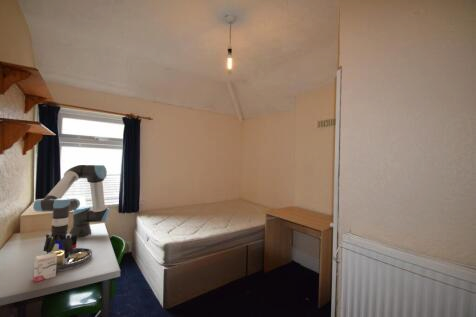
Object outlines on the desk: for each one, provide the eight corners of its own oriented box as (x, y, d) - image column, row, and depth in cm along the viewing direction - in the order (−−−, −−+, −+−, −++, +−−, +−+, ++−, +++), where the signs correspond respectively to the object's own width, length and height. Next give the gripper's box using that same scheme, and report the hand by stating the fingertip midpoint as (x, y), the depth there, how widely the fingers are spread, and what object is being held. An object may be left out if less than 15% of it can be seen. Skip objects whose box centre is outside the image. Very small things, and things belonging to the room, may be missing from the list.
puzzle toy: (62, 254, 139) (63, 239, 139) (49, 253, 140) (50, 238, 140) (76, 248, 149) (77, 234, 149) (64, 247, 150) (65, 233, 150)
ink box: (33, 282, 106) (35, 259, 107) (32, 279, 109) (34, 256, 110) (56, 276, 113) (57, 254, 113) (54, 273, 116) (56, 251, 116)
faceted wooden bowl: (56, 260, 126) (56, 250, 126) (69, 260, 126) (70, 250, 126) (44, 266, 118) (44, 256, 118) (58, 267, 118) (58, 256, 118)
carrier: (62, 252, 142) (63, 244, 142) (100, 253, 142) (101, 245, 142) (24, 271, 116) (25, 261, 116) (70, 273, 116) (71, 263, 116)
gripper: (36, 225, 119) (33, 265, 118) (72, 227, 119) (69, 266, 119) (48, 222, 127) (45, 259, 126) (82, 223, 127) (79, 260, 126)
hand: (57, 263), depth 122 cm, fingers closed on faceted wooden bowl, 8 cm apart
